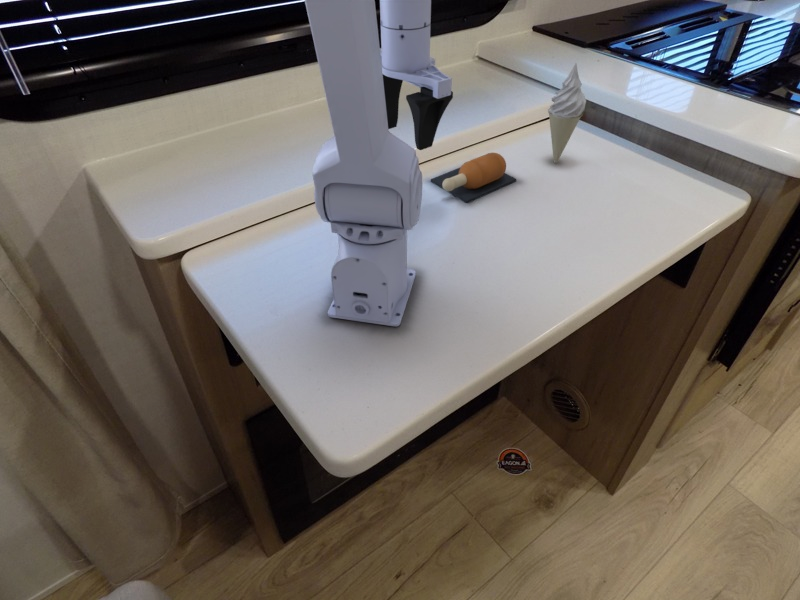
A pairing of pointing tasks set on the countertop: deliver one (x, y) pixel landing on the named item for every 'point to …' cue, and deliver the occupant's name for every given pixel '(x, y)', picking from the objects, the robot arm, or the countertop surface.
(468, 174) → the drumstick
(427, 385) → the countertop surface
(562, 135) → the ice cream cone
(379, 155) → the robot arm
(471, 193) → the mat
